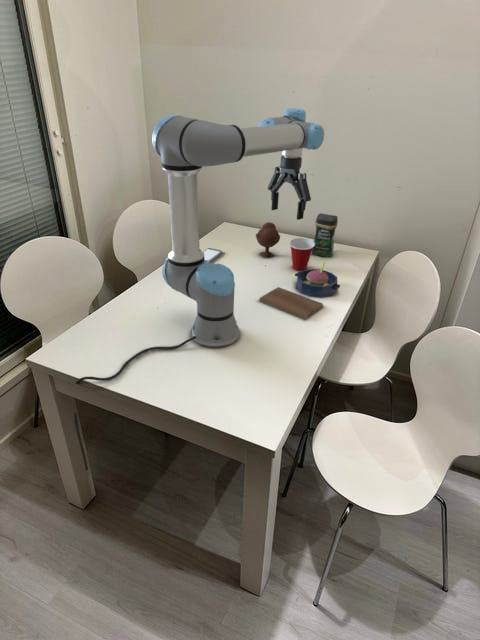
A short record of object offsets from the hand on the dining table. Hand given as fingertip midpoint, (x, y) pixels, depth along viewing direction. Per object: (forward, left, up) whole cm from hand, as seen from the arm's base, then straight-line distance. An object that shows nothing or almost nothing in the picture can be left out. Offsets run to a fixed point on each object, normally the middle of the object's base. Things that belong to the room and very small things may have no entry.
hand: (286, 214), depth 174 cm
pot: (+2, -15, -27) cm, 31 cm away
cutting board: (-16, -15, -27) cm, 35 cm away
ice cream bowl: (+15, +19, -27) cm, 36 cm away
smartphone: (-5, +37, -27) cm, 46 cm away
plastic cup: (+13, 0, -27) cm, 30 cm away
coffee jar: (+34, +1, -27) cm, 44 cm away
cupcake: (+2, -15, -27) cm, 31 cm away
